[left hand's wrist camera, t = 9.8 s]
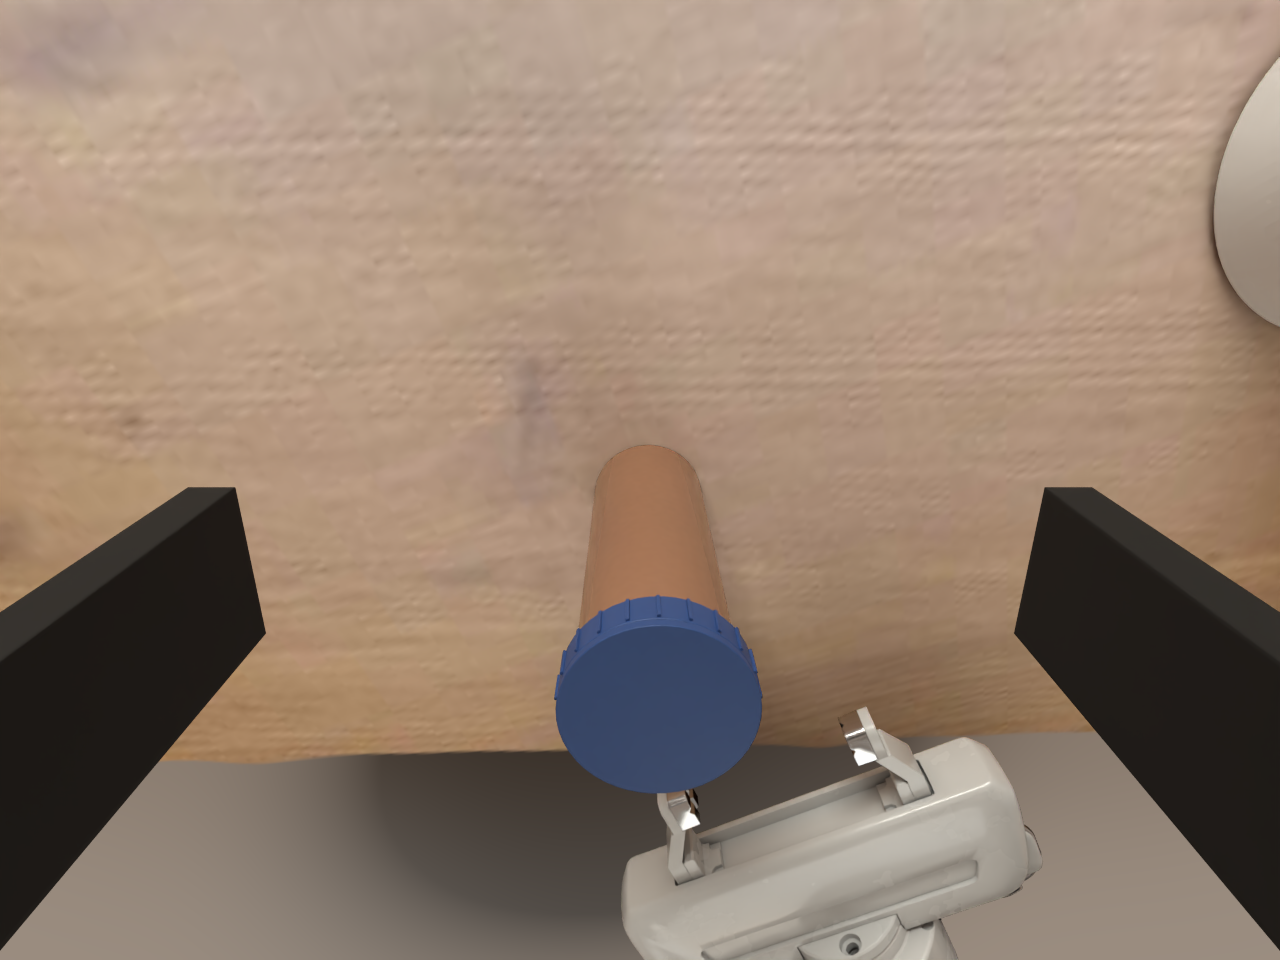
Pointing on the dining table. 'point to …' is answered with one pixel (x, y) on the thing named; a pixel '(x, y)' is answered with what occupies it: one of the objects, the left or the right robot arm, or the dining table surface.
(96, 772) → the left robot arm
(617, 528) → the jar
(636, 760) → the lid
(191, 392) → the dining table surface
